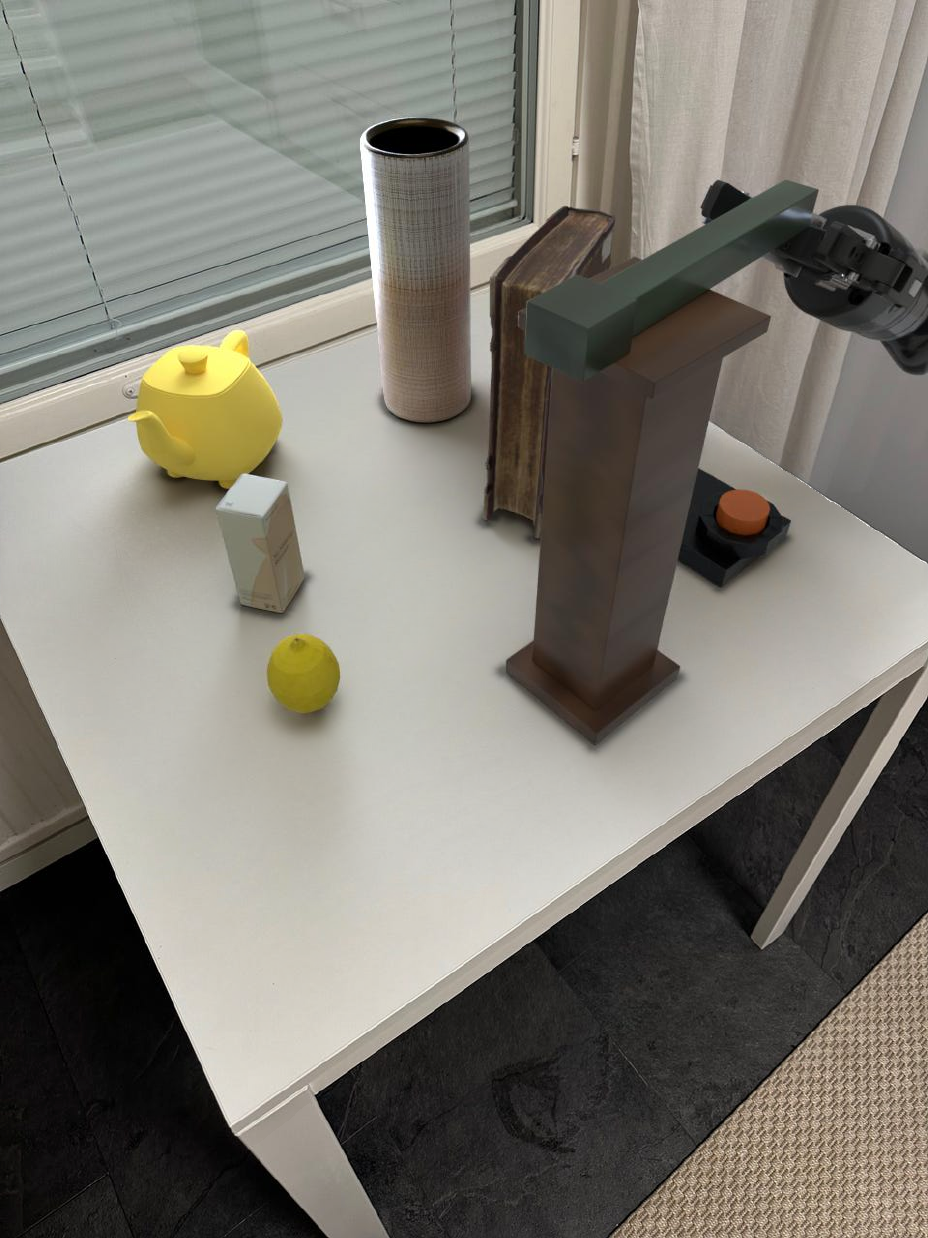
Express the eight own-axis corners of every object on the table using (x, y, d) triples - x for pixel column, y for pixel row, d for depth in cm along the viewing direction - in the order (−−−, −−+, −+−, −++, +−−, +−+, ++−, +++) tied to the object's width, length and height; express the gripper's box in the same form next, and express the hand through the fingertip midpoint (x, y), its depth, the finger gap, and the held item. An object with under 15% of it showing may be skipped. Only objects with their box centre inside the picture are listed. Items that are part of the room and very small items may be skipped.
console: (796, 544, 84) (807, 511, 81) (731, 595, 80) (741, 562, 77) (685, 479, 91) (692, 447, 88) (620, 523, 86) (625, 490, 83)
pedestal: (677, 677, 73) (771, 315, 50) (594, 745, 69) (654, 382, 45) (588, 612, 78) (634, 256, 55) (505, 671, 74) (518, 311, 50)
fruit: (261, 708, 72) (242, 642, 66) (312, 667, 74) (297, 600, 68) (309, 745, 69) (293, 680, 63) (359, 701, 72) (348, 635, 66)
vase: (489, 395, 101) (491, 132, 81) (429, 435, 96) (416, 164, 76) (425, 365, 106) (412, 108, 86) (366, 401, 101) (337, 137, 81)
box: (283, 615, 78) (260, 519, 70) (238, 605, 79) (211, 509, 71) (307, 575, 82) (288, 479, 74) (264, 566, 83) (241, 470, 75)
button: (775, 520, 81) (779, 505, 80) (745, 542, 79) (750, 527, 78) (735, 497, 83) (739, 482, 82) (705, 518, 81) (709, 503, 80)
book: (552, 431, 97) (570, 194, 78) (612, 451, 94) (645, 211, 76) (475, 520, 87) (475, 273, 68) (540, 544, 84) (557, 295, 66)
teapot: (106, 509, 89) (64, 402, 80) (207, 400, 101) (180, 297, 92) (226, 536, 86) (196, 428, 77) (314, 420, 98) (297, 316, 89)
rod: (820, 231, 57) (834, 182, 55) (583, 382, 45) (588, 328, 43) (765, 213, 59) (776, 165, 57) (524, 354, 47) (526, 301, 45)
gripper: (799, 192, 68) (701, 120, 55) (979, 255, 60) (913, 188, 48) (750, 290, 71) (647, 242, 58) (916, 361, 63) (839, 323, 51)
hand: (768, 218), depth 53 cm, fingers open, 8 cm apart
